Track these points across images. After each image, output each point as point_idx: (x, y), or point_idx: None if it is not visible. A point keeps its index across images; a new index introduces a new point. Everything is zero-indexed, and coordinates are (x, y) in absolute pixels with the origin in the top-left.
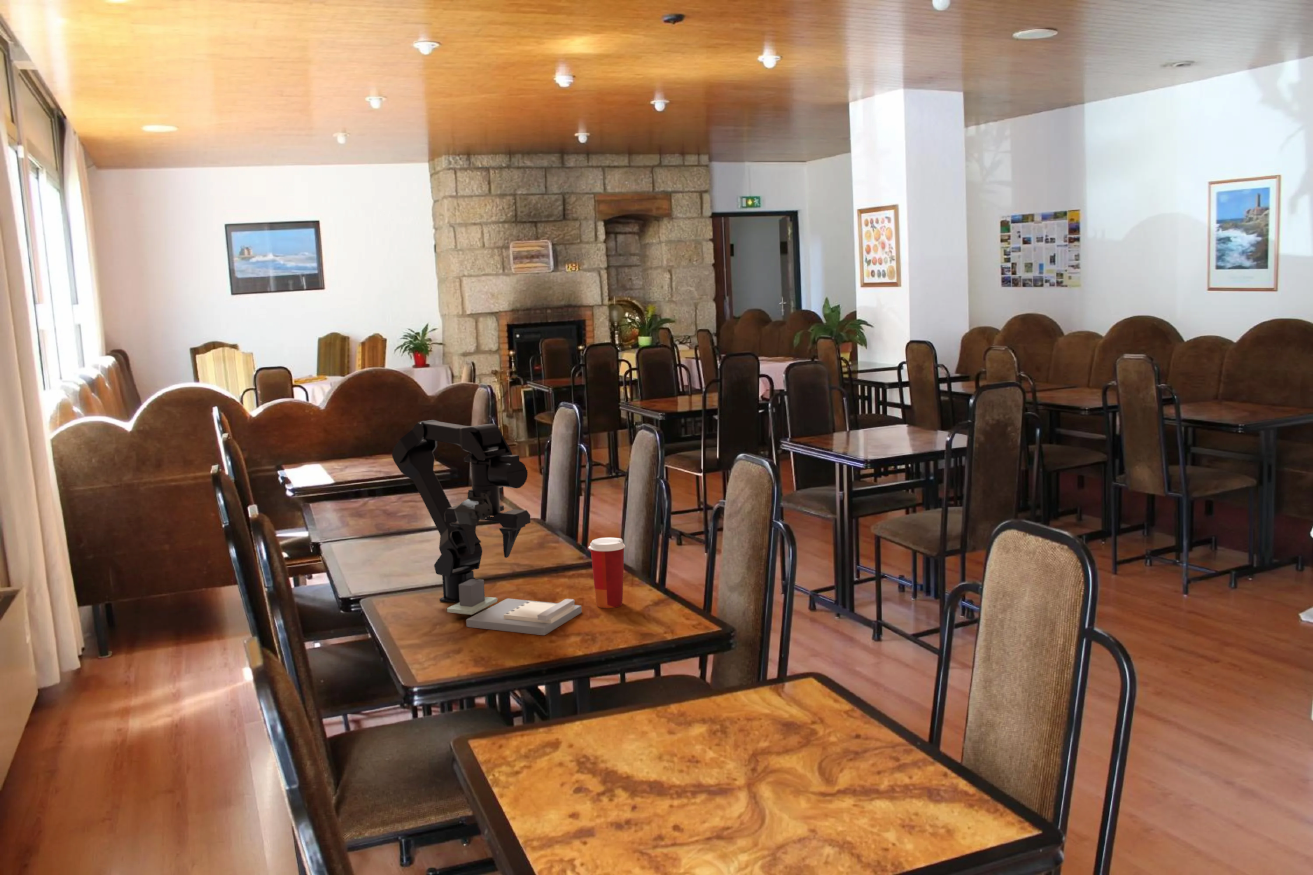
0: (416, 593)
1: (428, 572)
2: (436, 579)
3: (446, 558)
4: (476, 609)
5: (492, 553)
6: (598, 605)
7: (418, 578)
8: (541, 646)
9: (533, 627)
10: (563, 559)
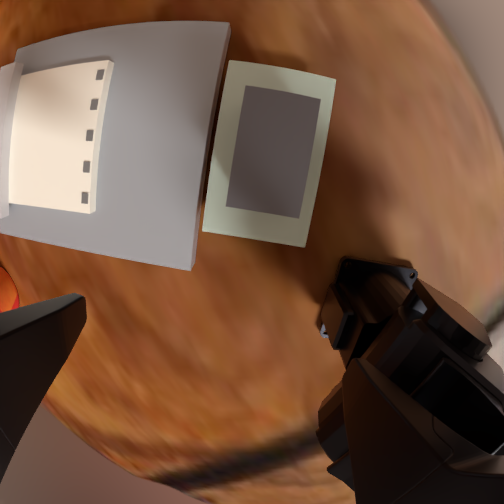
0: None
1: None
2: None
3: (465, 320)
4: (224, 90)
5: None
6: (4, 272)
7: None
8: (28, 3)
9: (36, 43)
10: (234, 498)
